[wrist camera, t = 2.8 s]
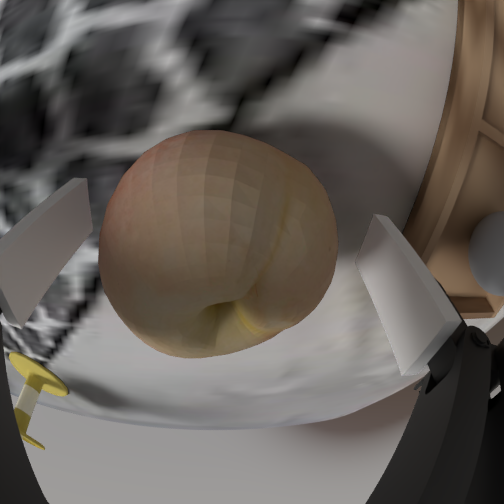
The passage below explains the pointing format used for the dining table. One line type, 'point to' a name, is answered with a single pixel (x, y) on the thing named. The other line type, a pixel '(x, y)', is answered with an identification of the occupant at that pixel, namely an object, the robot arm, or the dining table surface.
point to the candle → (33, 390)
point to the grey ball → (488, 253)
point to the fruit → (216, 244)
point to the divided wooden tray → (465, 160)
